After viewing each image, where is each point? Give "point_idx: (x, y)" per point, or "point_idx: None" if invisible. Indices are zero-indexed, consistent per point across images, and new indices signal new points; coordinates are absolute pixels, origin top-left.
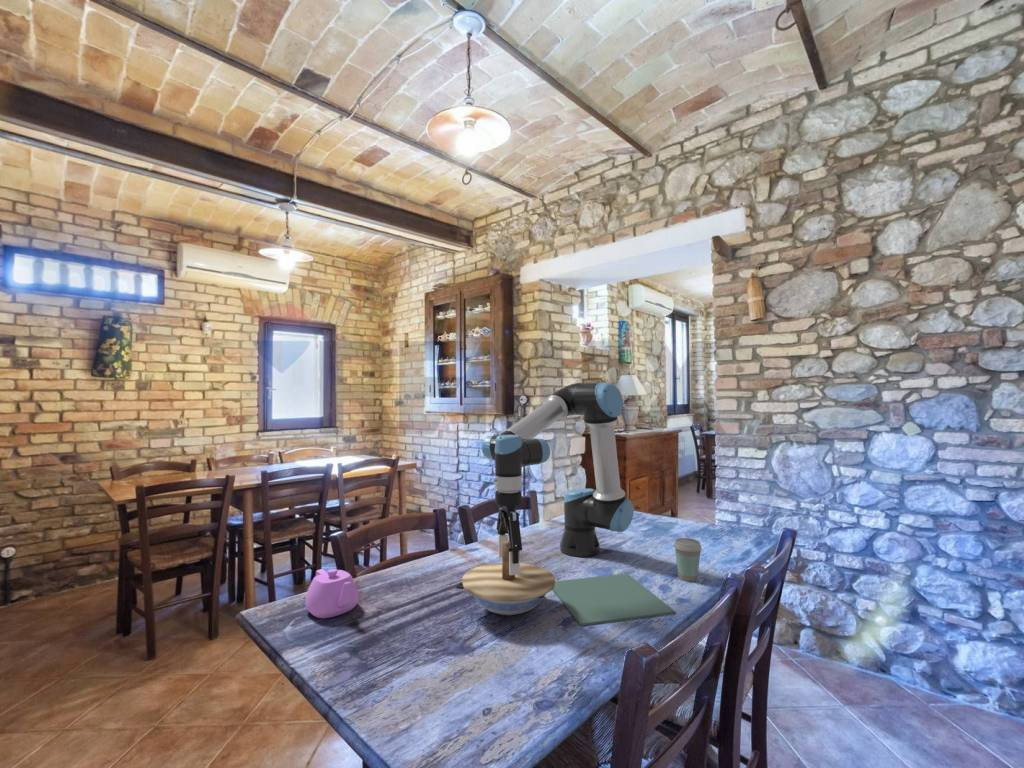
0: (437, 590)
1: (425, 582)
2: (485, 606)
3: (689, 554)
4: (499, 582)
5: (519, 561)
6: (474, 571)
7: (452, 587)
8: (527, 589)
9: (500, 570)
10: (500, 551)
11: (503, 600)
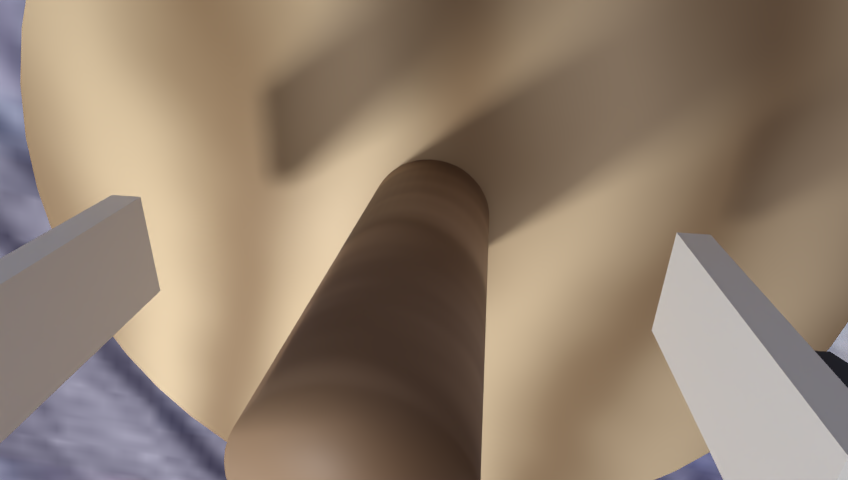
0: (141, 406)
1: (48, 433)
2: None
3: None
4: (503, 312)
5: (788, 325)
6: (232, 405)
7: (108, 343)
8: (770, 139)
9: (230, 226)
10: (113, 314)
11: None
